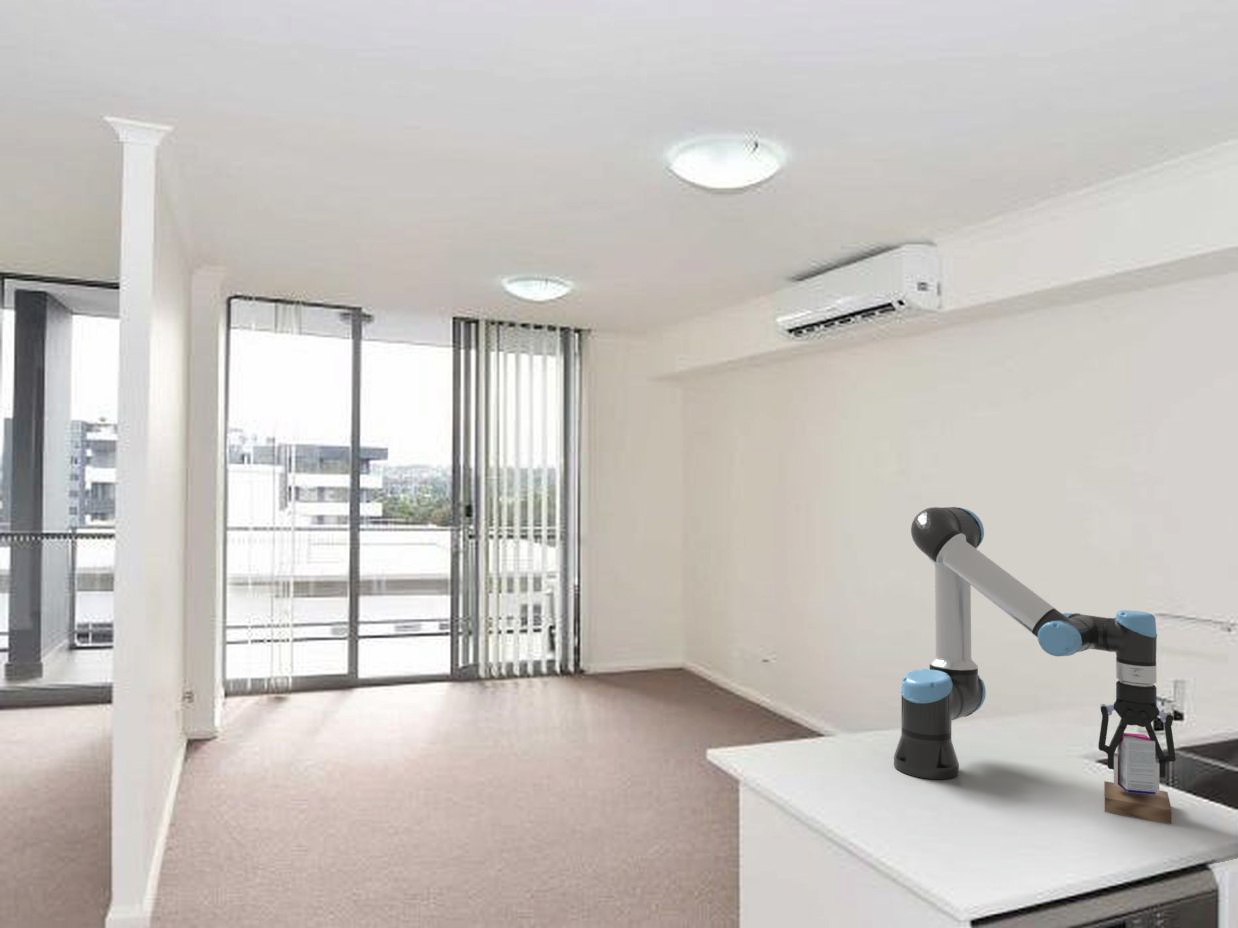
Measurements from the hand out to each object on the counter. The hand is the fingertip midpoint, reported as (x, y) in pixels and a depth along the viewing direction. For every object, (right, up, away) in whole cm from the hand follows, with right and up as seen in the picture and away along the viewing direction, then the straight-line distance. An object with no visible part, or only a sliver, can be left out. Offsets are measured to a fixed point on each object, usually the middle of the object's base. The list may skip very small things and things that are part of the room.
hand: (1136, 787), depth 179 cm
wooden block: (0, -4, 0) cm, 5 cm away
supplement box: (0, 0, 0) cm, 0 cm away
